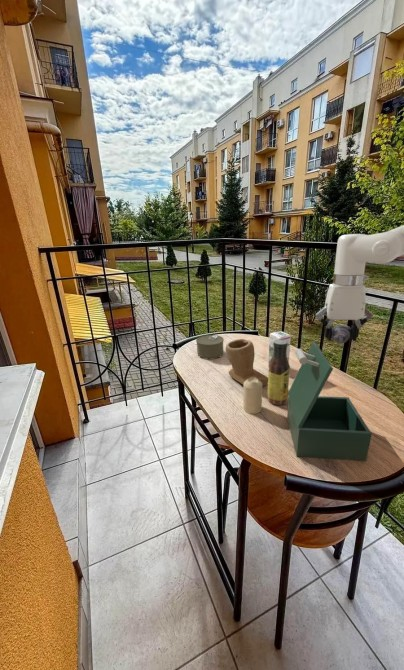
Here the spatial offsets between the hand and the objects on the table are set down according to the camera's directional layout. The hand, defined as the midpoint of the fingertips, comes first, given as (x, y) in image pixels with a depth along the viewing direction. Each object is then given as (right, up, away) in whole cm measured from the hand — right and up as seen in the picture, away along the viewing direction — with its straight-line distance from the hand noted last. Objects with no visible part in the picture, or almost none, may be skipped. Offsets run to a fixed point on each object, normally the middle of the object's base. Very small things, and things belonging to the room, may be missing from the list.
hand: (340, 338), depth 85 cm
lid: (-16, -11, -18) cm, 26 cm away
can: (-39, -7, +40) cm, 56 cm away
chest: (-11, -25, -13) cm, 30 cm away
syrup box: (-13, -12, +24) cm, 30 cm away
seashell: (0, -1, 0) cm, 1 cm away
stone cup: (-27, -15, +17) cm, 35 cm away
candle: (-27, -21, 0) cm, 34 cm away
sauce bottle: (-18, -20, +4) cm, 27 cm away
